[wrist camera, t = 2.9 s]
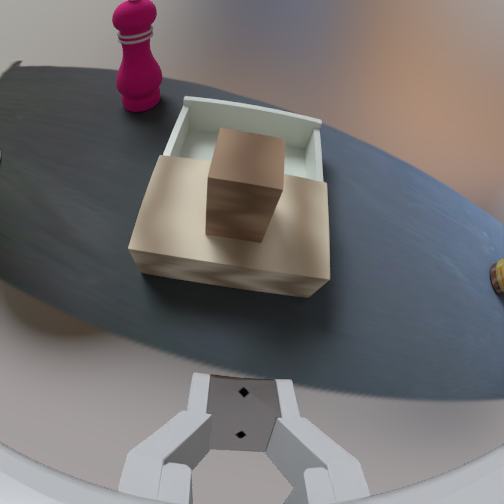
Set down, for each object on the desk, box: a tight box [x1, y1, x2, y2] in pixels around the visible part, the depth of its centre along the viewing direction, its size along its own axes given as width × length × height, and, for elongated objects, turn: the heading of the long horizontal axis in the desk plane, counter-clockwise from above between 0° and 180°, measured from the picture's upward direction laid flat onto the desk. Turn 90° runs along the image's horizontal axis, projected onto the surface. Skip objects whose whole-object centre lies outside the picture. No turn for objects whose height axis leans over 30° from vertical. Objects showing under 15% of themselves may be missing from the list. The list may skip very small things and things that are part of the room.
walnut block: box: [205, 128, 285, 243], centre depth 24 cm, size 5×5×8 cm
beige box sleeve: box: [128, 155, 330, 298], centre depth 30 cm, size 18×11×6 cm, turn 84°
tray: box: [163, 96, 323, 182], centre depth 35 cm, size 18×11×6 cm, turn 84°
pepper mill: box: [112, 0, 162, 112], centre depth 32 cm, size 7×7×20 cm
